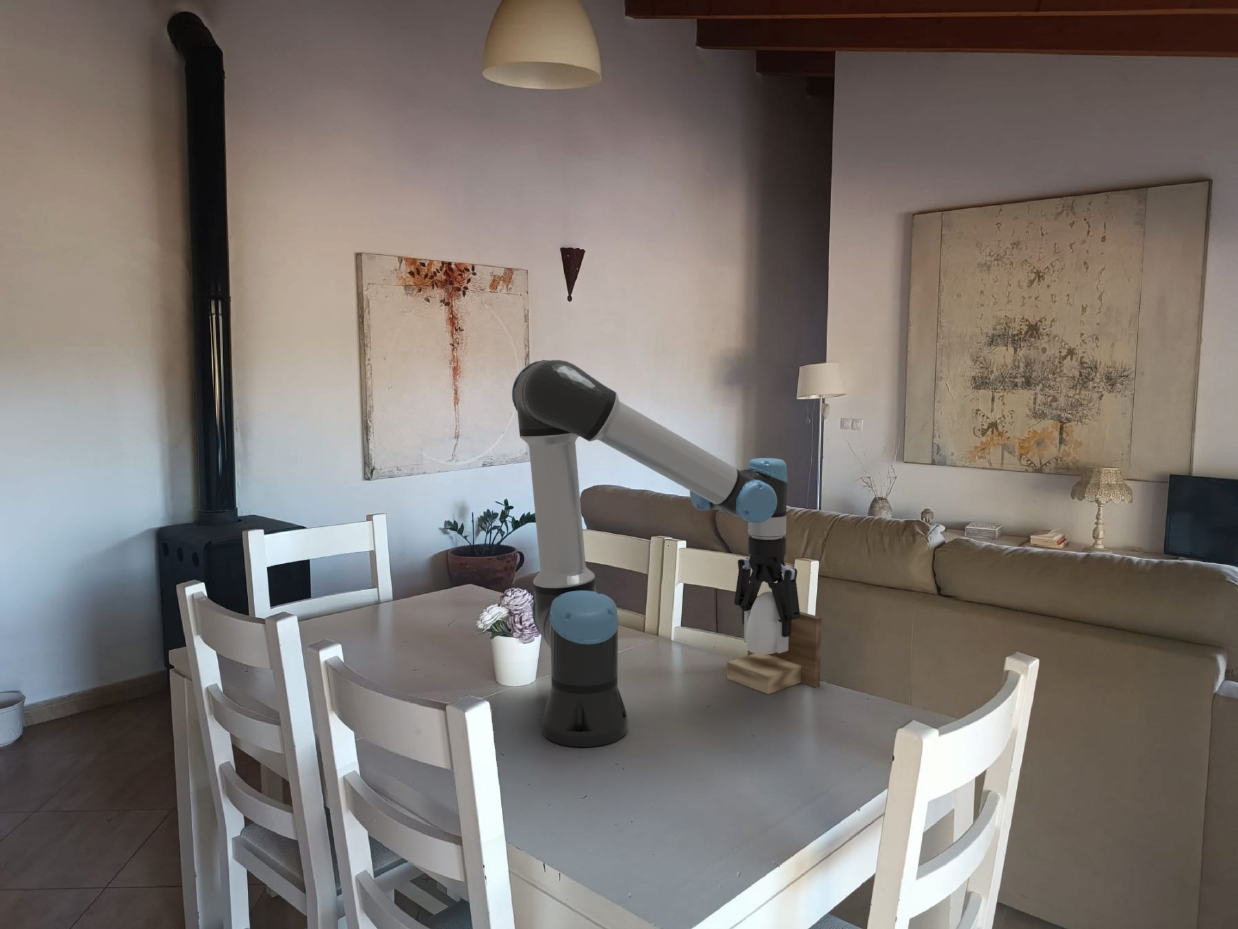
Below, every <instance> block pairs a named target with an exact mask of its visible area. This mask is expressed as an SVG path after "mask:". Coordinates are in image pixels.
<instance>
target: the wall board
mask: <svg viewBox="0 0 1238 929" xmlns="http://www.w3.org/2000/svg"><path fill="white" fill-rule="evenodd" d="M751 609H752V608H751ZM785 615H786V613H785ZM821 643H822V617H821V616H818V615H814V614H809V613H806V612H803V611H800V617H799V618H797V619H794V620H792V621H791V635H790V636H788V651H785V652H782V653H776V652H775V653H773V654H756V653H752V652H750V651H748V650H747V655H746V656H743V657H739V658H736V659H733V660H730V661H727V663H726V679H727V680H729V681H732V682H734V683H738V684H740V685H743V686H746V687H748V688H751V689H753V690H756V691H759V692H762V693H764V694H767V695H770V694H773V693H775V692H778V691H782V690H783V689H786V688H790V687H792V686H795V685H797V683H798V684H805V685H807V686H810V687H814V688H817V687H820V684H821V653H822V652H821V650H822V648H821V647H822V644H821Z"/></svg>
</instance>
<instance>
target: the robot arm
mask: <svg viewBox="0 0 1238 929" xmlns="http://www.w3.org/2000/svg"><path fill="white" fill-rule="evenodd" d="M511 399H512V403H513V406H514V408H515V410H516V412H517V421H518V423H517V424H518V430H519V438H520V439H521V440H523V441H524V442H525V443H526V444H527V445H528V450H529V451H528V452H529V460H530V472H531V483H532V492H533V493H532V496H533V506H534V514H535V515H534V516H535V525H536V535H537V536H536V537H537V538H536V539H537V547H538V550H537V551H538V558H539V569H540V571H539V572H538V574H536V575H535V577H534V578H533V594H534V598H533V602H532V606H531V607H532V610H531V611H532V613H531V615H532V620H533V623H534V626H535V628H536V630H537V631H538V633H539V634H540V635H541V637H542V638H543V639H544V641H545V643H546V644H547V645H548V647H549V649H550V677H551V679H550V682H551V686H550V691H549V695H548V698H547V699H546V700H547V701H546V704H545V706H544V707H545V708H544V711H543V713H542V716H541V732H542V735H543V736H544V737H545V738H546V739H548V740H549V741H551V742H553V743H555V744H559V745H561V746H562V745H563V746H568V747H575V748H576V747H577V748H579V747H580V748H588V747H589V748H590V747H598V746H604V745H608V744H611V743H614V742H616V741H618V740H620V739H621V738H623V737H624V736H626V734H627V733H628V729H629V726H628V725H629V724H628V721H629V718H628V712H627V711H626V707H625V704H624V701H623V697H622V695H621V692H620V690H619V683H618V682H619V681H618V680H619V678H618V676H619V674H618V673H619V671H618V668H619V665H618V664H619V663H618V662H619V661H618V659H619V658H618V657H619V655H618V654H619V651H618V649H619V648H618V647H619V642H618V640H619V639H618V638H619V634H618V633H619V630H618V629H619V623H620V622H619V615H618V607H617V605H616V602H615V601H614V600H613V599H612V598H611V597H609V596H608V595H606V594H604V593H598V592H597V587H596V586H597V585H596V576H595V573H594V572H593V571H591V570H590V569H589V568H588V567H587V565H586V564H587V563H586V554H585V542H584V531H583V520H582V519H583V518H582V506H581V505H582V504H581V495H580V494H581V493H580V484H579V483H580V482H579V481H580V480H579V470H578V459H577V446H576V443H577V442H576V441H577V439H578V438H579V437H580V438H582V439H584V440H585V441H588V442H593V441H599V442H602V443H603V444H605V445H606V446H609V447H610V448H612V449H613V450H616V451H617V452H620V453H621V454H623V455H625V456H626V457H628V458H630V459H633V460H634V461H636V462H638V463H639V464H641V465H643V466H645V467H647V468H649V469H650V470H652V471H654V472H656V473H658V474H659V475H661V476H663V477H664V478H667V479H668V480H670V481H672V482H674V483H676V484H677V485H680V486H681V487H682V488H685V489H687V490H689V497H690V501H691V503H692V506H693V507H694V509H696V510H699V511H709V512H711V511H712V510H713V511H715V510H716V511H717V510H718V511H721V512H724V513H726V514H728V515H731V516H734V517H737V519H738V518H739V519H741V520H743V521H745V522H746V523H748V526H747V533H748V534H749V537H748V538H747V553H748V555H750V556H749V557H745V558H741V559H738V560H737V565H738V566H737V568H738V573H737V580H736V587H735V588H736V589H735V594H734V604H735V606H739V608H740V609H741V616H742V617H741V623H742V625H744V626H743V628H744V629H743V642H744V643H746V626H747V621H748V618H749V615H750V612H751V608H752V606H753V604H754V602H755V600H756V598H757V597H758V596H759V591H760V589H761V586H762V585H763V582H764V583H766V584H767V586H768V588H769V589H771V592H772V593H773V596H774V600H775V603H776V606H777V610H778V613H779V616H780V619H779V620H777V648H776V653H782V652H785V651H788V636H790V635H791V621H792V620H794V619H797V618H799V617H800V612H801V611H800V610H801V609H800V603H799V602H800V600H799V595H798V585H797V576H798V569H797V568H790V567H788V566H786V564H785V563H786V562H785V560H784V558H785V556H786V554H787V538H786V537H785V535H786V534H787V503H788V501H787V499H788V497H787V496H788V495H787V494H788V482H789V481H788V469H787V467H788V466H787V463H786V461H784V459H779V458H772V457H762V458H761V457H759V458H752V459H750V460H749V462H748V467H747V468H746V469H742V470H741V469H739V470H738V469H737V468H736V467H735V466H733V465H731V464H729V463H728V462H726V461H723V460H722V459H720V458H718V457H717V456H716V455H714V454H712V453H710V452H709V451H706V450H705V449H704V448H701V447H700V446H698V445H696V444H695V443H693V442H691V441H690V440H688V439H685V438H684V437H682V436H680V435H679V434H677V433H675V431H674V432H673V431H672V430H670V429H668V428H667V427H665V426H663V425H662V424H659V423H658V422H656V421H654V420H653V419H651V418H649V417H648V416H646V415H644V414H642V413H640V412H639V411H637V410H635V409H633V408H632V407H630V406H628V405H626V404H625V403H624V402H622V401H620V398H619V395H618V393H617V391H614V390H612V389H611V388H609V387H607V386H606V385H605V384H603V383H602V382H600V381H598V380H597V379H595V378H594V377H593V376H591V375H590V374H588V373H587V372H586V371H585V370H583V369H581V368H580V367H578V366H577V365H575V364H573V363H571V362H569V361H567V360H562V359H552V360H551V359H550V360H548V359H542V360H537V361H534V362H532V363H529V364H528V365H527V366H524V368H522V369H521V371H520V372H518V374H517V376H516V378H515V379H514V381H513V385H512V390H511ZM785 613H786V615H785Z"/></svg>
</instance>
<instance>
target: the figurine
mask: <svg viewBox="0 0 1238 929" xmlns="http://www.w3.org/2000/svg"><path fill="white" fill-rule="evenodd" d="M779 619H780V616H779V613H778V610H777V606H776V603H775V600H774V596H773V593H772V590H771V591H770V590H769V591H764V592H762V593H760V594H758V595H757V597H756V600H755V602H754V604H753V606H752V609H751V612H750V615H749V618H748V621H747V626H746V642H745V643H746V648H747V652H748V651H750V652H752V653H756V654H773V653H775V652H776V648H777V620H779Z"/></svg>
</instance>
